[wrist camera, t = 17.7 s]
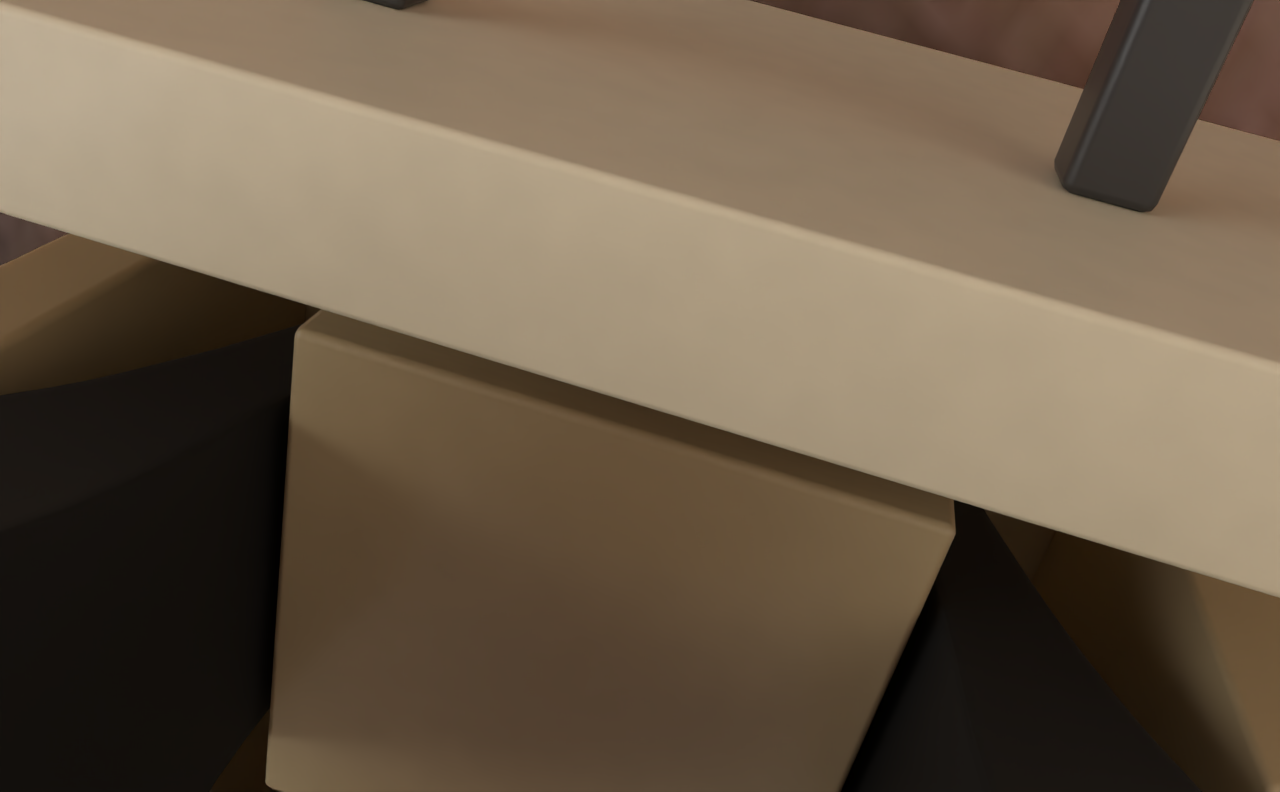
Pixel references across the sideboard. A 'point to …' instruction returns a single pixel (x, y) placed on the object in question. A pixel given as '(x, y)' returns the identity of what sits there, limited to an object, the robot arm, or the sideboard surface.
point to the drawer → (724, 264)
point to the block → (570, 587)
